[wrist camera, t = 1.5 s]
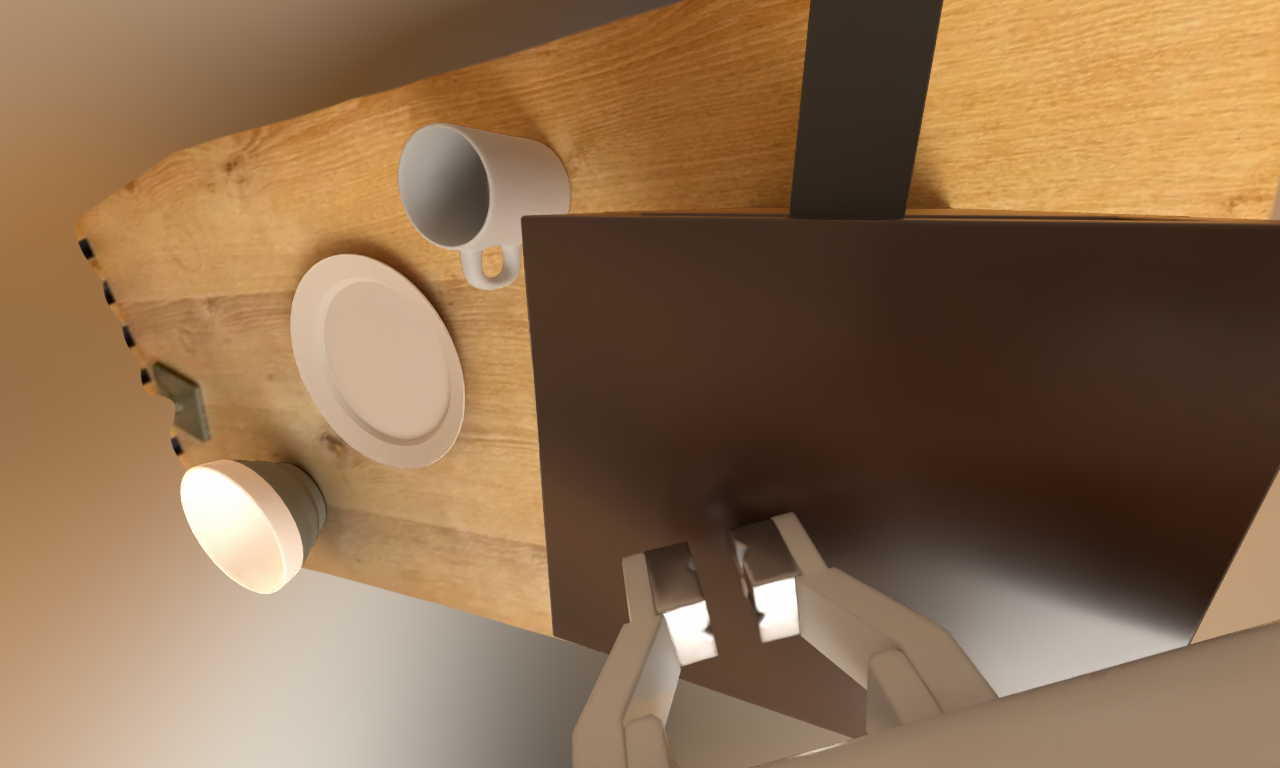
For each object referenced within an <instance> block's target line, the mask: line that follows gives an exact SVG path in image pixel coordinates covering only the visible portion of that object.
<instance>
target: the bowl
mask: <svg viewBox="0 0 1280 768" xmlns="http://www.w3.org/2000/svg"><path fill="white" fill-rule="evenodd" d="M181 500H182V505H183V509H184V512H185V515H186V518H187V520H188V523H189V525H190V527H191V529H192V531H193V533H194V535H195V536H196V538H197V540H198V541H199V543H200V544H201V546H202V547H203V549H204V550H205V552H206V553H207V554H208V555H209V557H210V558H211V559H212V560H213V562H214V563H215V564H216V565H217V566H218V567H219V568H220V569H221V570H222V571H223V572H224V573H225V574H226V575H228V576H229V577H230V578H231V579H232V580H234V581H235V582H237V583H238V584H240V585H241V586H243V587H245V588H247V589H249V590H251V591H254V592H258V593H262V594H270V593H273V592H276V591H278V590H279V589H280V588H282V587H283V586H284V585H285V584H287V583H288V582H289V581H290V580H291V579H292V578H293V577H294V576H295V575H296V574H297V573H298V571H299V570H300V568H301V566H302V565H303V563H304V562H305V560H306V558H307V556H308V554H309V551H310V548H311V547H312V546H313V545H314V543H315V541H316V539H317V536H318V532H319V530H320V529H321V527H322V526H323V524H324V522H325V520H326V506H325V502H324V499H323V496H322V494H321V492H320V490H319V488H318V487H317V485H316V484H315V483H314V481H313V480H312V479H311V478H310V477H309V476H308V475H307V474H306V473H305V472H303V471H302V470H301V469H299V468H298V467H296V466H294V465H291V464H288V463H277V464H274V463H271V462H265V461H253V462H251V461H246V460H219V461H214V462H209V463H205V464H202V465H199V466H196V467H193V468H191V469H190V470H188V471H187V472H186V474H185V475H184V477H183V479H182V484H181Z"/></svg>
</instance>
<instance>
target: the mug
mask: <svg viewBox="0 0 1280 768" xmlns="http://www.w3.org/2000/svg"><path fill="white" fill-rule="evenodd" d="M398 187H399V193H400V197H401V201H402V204H403V207H404V209H405V212H406V214H407V216H408V218H409V219H410V221H411V223H412V224H413V226H414V227H415V228H416V230H417V231H418V232H419V233H420V234H421V235H422V236H423V237H424V238H425V239H426V240H428V241H429V242H431V243H432V244H434V245H436V246H438V247H441V248H444V249H449V250H458V251H459V254H460V259H461V265H462V270H463V274H464V276H465V278H466V280H467V282H468V283H469V284H470V285H472V286H473V287H475V288H478V289H483V290H494V289H499V288H502V287H505V286H507V285H509V284H511V283H512V282H513V281H515V279H516V278H517V277H518V275H519V272H520V267H521V244H522V231H521V217H522V216H524V215H552V214H568V210H569V207H570V199H571V191H570V183H569V178H568V175H567V172H566V170H565V167H564V165H563V164H562V162H561V160H560V159H559V158H558V156H557V155H556V154H555V153H554V152H553V151H552V150H551V149H550V148H548V147H547V146H545V145H544V144H542V143H540V142H538V141H535V140H531V139H527V138H521V137H514V136H509V135H504V134H499V133H494V132H489V131H484V130H479V129H474V128H470V127H465V126H460V125H455V124H450V123H431V124H428V125H425V126H423V127H421V128H419V129H418V130H417V131H416V132H414V133H413V134H412V136H411V137H410V138H409V139H408V141H407V142H406V144H405V146H404V148H403V150H402V153H401V156H400V161H399V166H398ZM493 246H500V247H501V249H502V253H503V268H502V270H501V272H500V273H499V274H498V275H497V276H495V277H492V278H487V277H486V276H485V275H484V272H483V268H482V253H483V250H484V249H485V248H489V247H493Z"/></svg>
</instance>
